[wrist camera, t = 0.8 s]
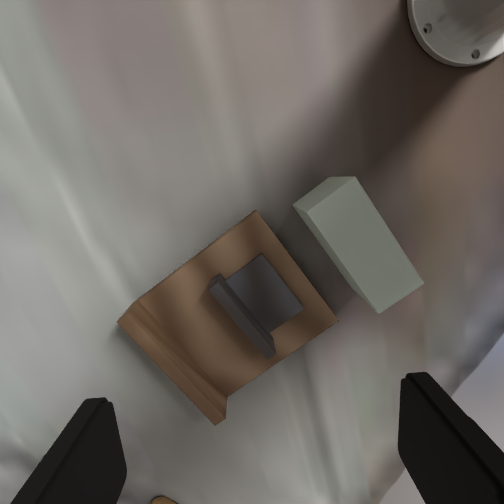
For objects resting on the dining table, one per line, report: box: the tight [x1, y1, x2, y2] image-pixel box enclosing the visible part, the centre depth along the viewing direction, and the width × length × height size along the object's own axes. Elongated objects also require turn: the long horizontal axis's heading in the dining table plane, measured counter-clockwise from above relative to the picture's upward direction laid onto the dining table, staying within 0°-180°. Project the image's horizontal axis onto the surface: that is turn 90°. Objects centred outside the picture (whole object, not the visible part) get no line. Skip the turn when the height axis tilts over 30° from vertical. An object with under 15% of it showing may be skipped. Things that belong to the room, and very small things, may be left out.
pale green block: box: [292, 176, 424, 314], centre depth 32 cm, size 5×12×8 cm, turn 37°
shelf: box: [117, 210, 339, 425], centre depth 35 cm, size 18×16×5 cm
